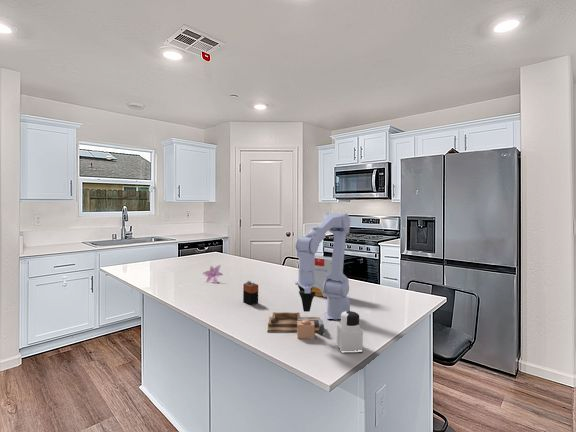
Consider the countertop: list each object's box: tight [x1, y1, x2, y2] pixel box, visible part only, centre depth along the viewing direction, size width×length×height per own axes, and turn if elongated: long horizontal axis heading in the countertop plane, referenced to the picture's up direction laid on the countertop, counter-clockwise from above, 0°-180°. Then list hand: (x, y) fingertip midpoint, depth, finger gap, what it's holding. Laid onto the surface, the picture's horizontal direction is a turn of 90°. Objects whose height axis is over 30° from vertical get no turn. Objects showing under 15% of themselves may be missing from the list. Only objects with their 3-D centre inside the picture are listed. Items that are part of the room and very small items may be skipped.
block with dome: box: [296, 320, 315, 339], centre depth 118 cm, size 6×4×6 cm, turn 90°
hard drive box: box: [311, 255, 340, 298], centre depth 170 cm, size 16×8×20 cm, turn 62°
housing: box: [267, 311, 321, 333], centre depth 128 cm, size 21×14×3 cm, turn 90°
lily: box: [202, 264, 224, 284], centre depth 197 cm, size 12×12×10 cm
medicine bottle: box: [336, 310, 364, 351], centre depth 108 cm, size 7×7×12 cm
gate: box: [298, 318, 325, 335], centre depth 123 cm, size 9×8×3 cm
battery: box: [242, 280, 259, 306], centre depth 156 cm, size 4×7×10 cm, turn 44°
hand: (305, 307), depth 117 cm, fingers open, 7 cm apart
